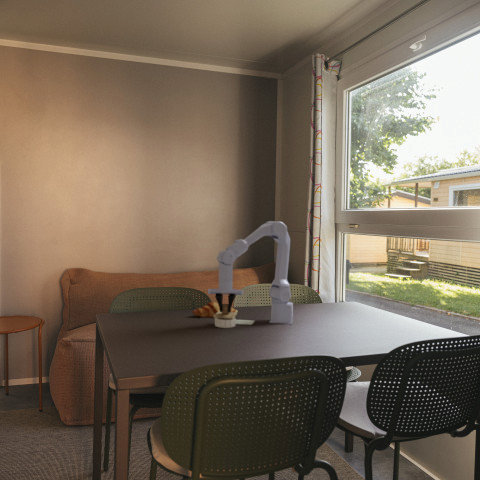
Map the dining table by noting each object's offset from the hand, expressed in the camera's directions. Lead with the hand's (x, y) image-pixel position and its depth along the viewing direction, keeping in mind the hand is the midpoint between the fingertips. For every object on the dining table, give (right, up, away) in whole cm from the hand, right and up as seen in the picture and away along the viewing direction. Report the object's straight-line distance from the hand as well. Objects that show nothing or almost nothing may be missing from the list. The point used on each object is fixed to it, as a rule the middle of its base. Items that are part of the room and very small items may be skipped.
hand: (225, 311), depth 187 cm
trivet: (+7, -6, +7) cm, 12 cm away
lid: (0, -2, 0) cm, 2 cm away
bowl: (0, -6, 0) cm, 6 cm away
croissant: (-5, -6, +20) cm, 22 cm away
